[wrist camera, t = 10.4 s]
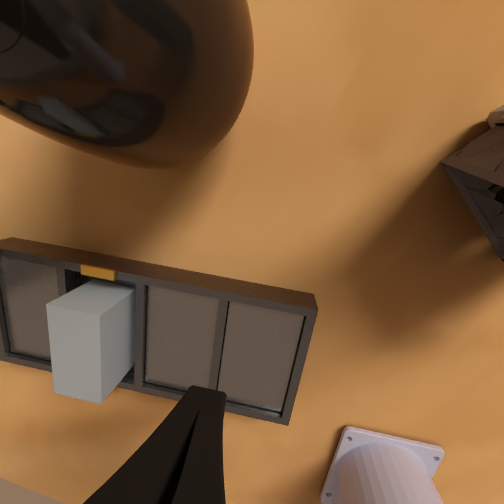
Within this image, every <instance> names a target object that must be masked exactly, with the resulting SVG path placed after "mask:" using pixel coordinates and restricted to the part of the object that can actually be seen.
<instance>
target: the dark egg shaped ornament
mask: <svg viewBox="0 0 504 504" xmlns="http://www.w3.org/2000/svg"><path fill="white" fill-rule="evenodd" d="M253 60H254V40H253V30H252V22H251V17H250V12H249V7H248V3H247V0H0V114H1V115H2V116H4V117H6V118H8V119H10V120H12V121H14V122H16V123H18V124H20V125H22V126H24V127H26V128H28V129H31V130H33V131H35V132H37V133H39V134H41V135H43V136H45V137H48V138H50V139H52V140H55V141H57V142H59V143H61V144H64V145H66V146H69V147H71V148H74V149H77V150H79V151H82V152H85V153H87V154H90V155H93V156H96V157H99V158H102V159H105V160H108V161H112V162H115V163H118V164H122V165H126V166H131V167H136V168H144V169H169V168H175V167H179V166H182V165H185V164H188V163H190V162H193V161H195V160H197V159H199V158H200V157H202V156H204V155H205V154H207V153H208V152H209V151H211V150H212V149H213V148H214V147H215V146H216V145H217V144H218V143H219V142H220V141H221V140H222V139H223V138H224V137H225V136H226V135H227V133H228V132H229V131H230V129H231V128H232V126H233V125H234V123H235V121H236V120H237V118H238V116H239V114H240V112H241V110H242V108H243V105H244V103H245V100H246V97H247V94H248V90H249V86H250V82H251V77H252V70H253Z"/></svg>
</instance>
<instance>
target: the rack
mask: <svg viewBox="0 0 504 504" xmlns="http://www.w3.org/2000/svg"><path fill="white" fill-rule="evenodd" d="M93 279H94V280H99V281H104V282H109V283H114V284H118V285H123V286H128V287H133V288H136V294H135V364H134V365H133V366H132V367H131V369H130V370H129V371H128V372H127V374H126V375H125V376H124V377H123V379H122V380H121V381H120V382H119V383H118V385H117V386H116V387H115V388H114V389H116V388H117V387H120V388H124V389H129V390H133V391H138V392H142V393H146V394H151V395H155V396H160V397H164V398H168V399H173V400H177V401H180V399H181V398H182V397H183V395H184V394H185V393H186V391H187V390H188V388H189V387H190V386H192V385H195V386H200V387H204V388H209V389H213V390H218V391H222V392H225V393H226V395H227V398H226V405H225V411H226V412H230V413H234V414H239V415H243V416H248V417H252V418H256V419H261V420H265V421H269V422H274V423H278V424H283V425H287V426H288V425H289V421H290V417H291V413H292V409H293V405H294V401H295V398H296V394H297V390H298V386H299V382H300V378H301V374H302V371H303V367H304V363H305V359H306V355H307V351H308V347H309V344H310V340H311V336H312V332H313V328H314V324H315V320H316V317H317V313H318V308H317V304H316V300H315V297H314V294H310V293H305V292H299V291H294V290H289V289H283V288H278V287H273V286H267V285H262V284H257V283H252V282H246V281H241V280H236V279H230V278H225V277H220V276H215V275H209V274H204V273H199V272H193V271H188V270H183V269H177V268H172V267H167V266H162V265H156V264H151V263H146V262H140V261H135V260H130V259H125V258H119V257H114V256H109V255H103V254H98V253H93V252H88V251H82V250H77V249H72V248H66V247H61V246H56V245H50V244H45V243H40V242H35V241H29V240H24V239H19V238H13V237H12V238H7V239H2V240H0V360H1V361H6V362H10V363H15V364H19V365H23V366H28V367H32V368H37V369H41V370H45V371H50V372H52V364H51V353H50V342H49V331H48V320H47V309H46V304H47V303H49V302H51V301H53V300H55V299H57V298H59V297H61V296H63V295H65V294H66V293H68V292H70V291H72V290H74V289H76V288H78V287H80V286H82V285H84V284H85V283H87V282H89V281H91V280H93Z"/></svg>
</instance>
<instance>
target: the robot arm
mask: <svg viewBox="0 0 504 504" xmlns="http://www.w3.org/2000/svg"><path fill="white" fill-rule="evenodd" d="M226 398H227V395H226V393H225V392H222V391H218V390H213V389H209V388H204V387H200V386H195V385H192V386H190V387H189V388H188V390H187V391H186V393H185V394H184V395H183V397H182V398H181V399H180V401H179V402H178V403H177V405H176V406H175V407H174V408H173V410H172V411H171V412H170V413H169V415H168V416H167V417H166V418H165V419H164V421H163V422H162V423H161V424H160V425H159V426H158V427H157V429H156V430H155V431H154V432H153V433H152V434H151V436H150V437H149V438H148V439H147V440H146V441H145V442H144V443H143V444H142V445H141V447H140V448H139V449H138V450H137V451H136V452H135V453H134V454H133V455H132V456H131V457H130V458H129V459H128V460H127V461H126V462H125V463H124V464H123V465H122V466H121V467H120V469H118V470H117V471H116V472H115V473H114V474H113V475H112V476H111V477H110V478H109V479H108V480H107V481H106V482H105V483H104V484H103V485H102V486H101V487H100V488H99V489H98V490H97V491H96V492H95V493H94V494H93V495H92V496H91V497H89V498H88V499H87V500H86V501H85V502H84V503H83V504H226V502H225V490H224V475H223V418H224V411H225V405H226ZM444 454H445V453H444V451H443V449H442V448H441V447H440V446H437V445H432V444H428V443H423V442H419V441H414V440H410V439H405V438H401V437H397V436H392V435H388V434H383V433H379V432H374V431H370V430H365V429H361V428H356V427H352V426H346V427H345V428H344V429H343V432H342V435H341V437H340V440H339V443H338V446H337V449H336V452H335V455H334V458H333V460H332V463H331V466H330V469H329V472H328V475H327V478H326V481H325V483H324V486H323V489H322V492H321V495H320V501H321V503H322V504H444V503H443V501H442V499H441V497H440V495H439V493H438V491H437V489H436V487H435V485H434V483H433V481H432V478H433V476H434V474H435V472H436V470H437V468H438V466H439V464H440V463H441V461H442V459H443V457H444Z"/></svg>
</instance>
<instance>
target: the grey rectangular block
mask: <svg viewBox="0 0 504 504" xmlns="http://www.w3.org/2000/svg"><path fill="white" fill-rule="evenodd" d="M135 294H136V288H133V287H128V286H123V285H118V284H114V283H109V282H104V281H99V280H94V279H93V280H91V281H89V282H87V283H85V284H84V285H82V286H80V287H78V288H76V289H74V290H72V291H70V292H68V293H66V294H65V295H63V296H61V297H59V298H57V299H55V300H53V301H51V302H49V303H47V304H46V309H47V320H48V331H49V342H50V353H51V364H52V375H53V386H54V393H56V394H60V395H64V396H69V397H73V398H77V399H81V400H85V401H89V402H93V403H97V404H101V405H102V403H103V402H104V401H105V400H106V398H107V397H108V396H109V395H110V393H111V392H112V391H113V390H114V388H115V387H116V386H117V385H118V383H119V382H120V381H121V380H122V379H123V377H124V376H125V375H126V374H127V372H128V371H129V370H130V369H131V367H132V366H133V365H134V364H135Z"/></svg>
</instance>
